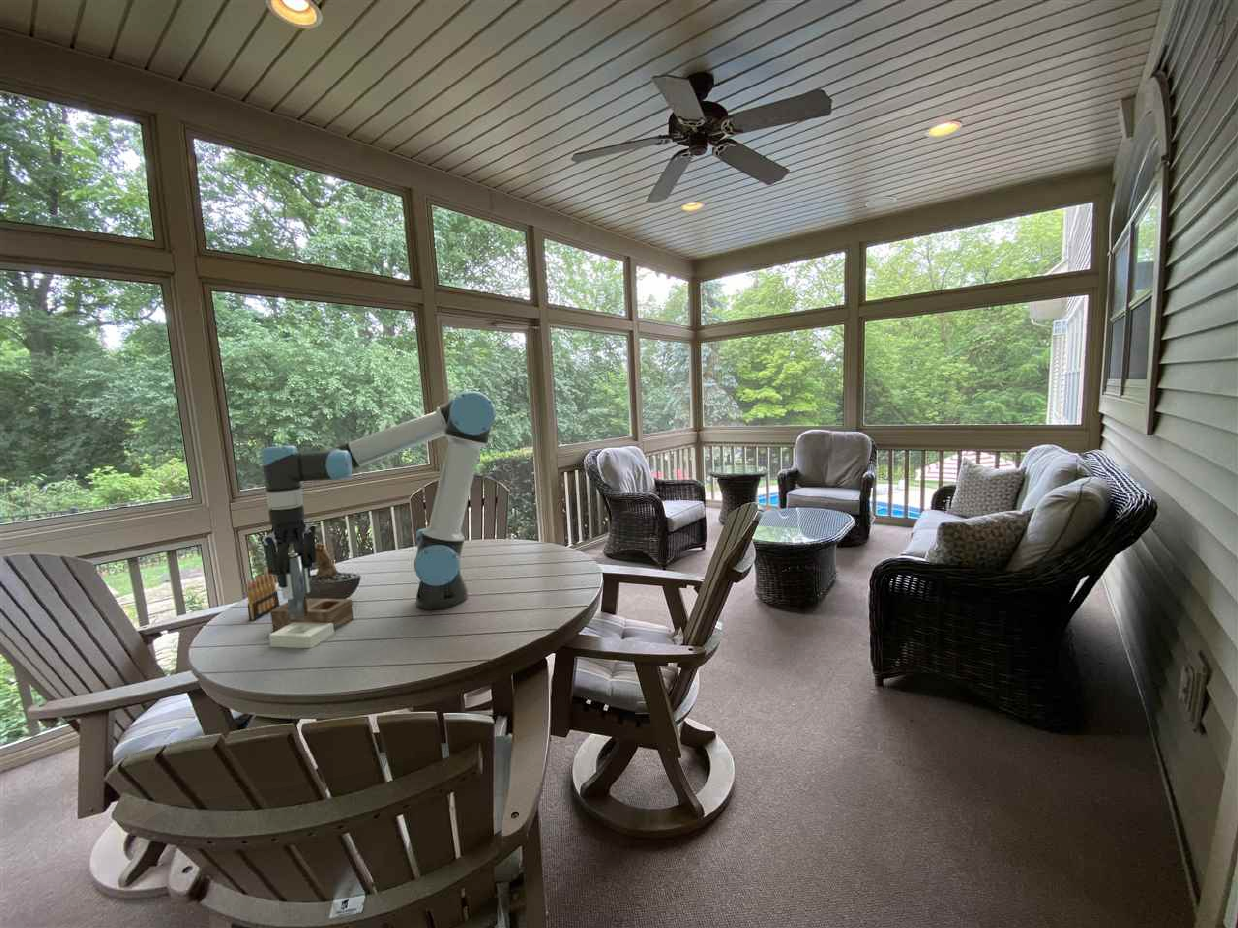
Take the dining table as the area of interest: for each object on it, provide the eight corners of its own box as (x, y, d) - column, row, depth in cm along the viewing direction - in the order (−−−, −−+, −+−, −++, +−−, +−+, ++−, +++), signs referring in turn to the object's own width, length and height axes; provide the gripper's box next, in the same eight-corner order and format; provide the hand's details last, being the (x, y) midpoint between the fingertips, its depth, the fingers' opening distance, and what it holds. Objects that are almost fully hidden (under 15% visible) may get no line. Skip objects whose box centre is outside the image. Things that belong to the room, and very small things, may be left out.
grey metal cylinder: (311, 613, 134) (304, 551, 132) (299, 619, 130) (292, 556, 128) (298, 612, 135) (290, 551, 133) (286, 619, 131) (278, 555, 129)
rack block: (334, 633, 136) (332, 623, 136) (311, 647, 128) (309, 636, 128) (295, 632, 138) (293, 621, 138) (270, 646, 131) (268, 635, 130)
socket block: (353, 619, 145) (351, 599, 144) (330, 633, 136) (328, 612, 136) (298, 617, 148) (296, 598, 148) (273, 631, 140) (270, 610, 139)
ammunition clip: (255, 620, 148) (249, 581, 147) (249, 621, 148) (243, 581, 147) (279, 606, 159) (274, 569, 157) (273, 606, 159) (268, 569, 157)
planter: (290, 606, 157) (282, 544, 155) (348, 590, 170) (341, 532, 167) (305, 619, 147) (296, 552, 145) (365, 600, 159) (358, 538, 157)
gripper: (305, 499, 138) (315, 582, 141) (241, 513, 123) (253, 606, 125) (326, 500, 136) (335, 584, 139) (262, 514, 120) (275, 609, 123)
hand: (296, 594), depth 132 cm, fingers closed on grey metal cylinder, 4 cm apart
